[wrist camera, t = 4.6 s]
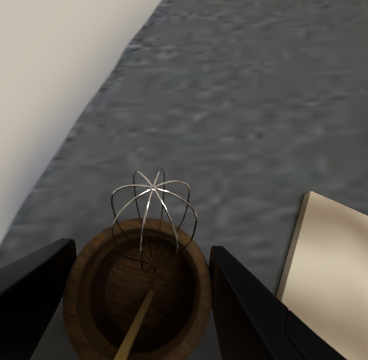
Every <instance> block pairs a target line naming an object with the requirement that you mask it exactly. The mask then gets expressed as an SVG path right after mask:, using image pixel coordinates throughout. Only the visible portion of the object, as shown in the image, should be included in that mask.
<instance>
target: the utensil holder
mask: <svg viewBox="0 0 368 360" xmlns="http://www.w3.org/2000/svg"><path fill="white" fill-rule="evenodd" d="M162 170H163V175H164V180H163V183H161V184H158V185H156V182H157V179H158V177H159V175H160V173H161V171H162ZM136 173H139V174H141V175H142V176H143V177H144V178H145V179H146V180H147V182H148V183H149V184H150V186H146V185H135V174H136ZM171 182H182V183H184V184H186V185H187V187H188V190H189V192H188V200H187V201H186V200H184V199H183V198H181V197H180V196H178V195H176V194H174V193H172V192H169V191H167V190H165V184H167V183H171ZM155 185H156V186H155ZM161 185H163V189H160V188H157V187H159V186H161ZM126 187H134V194H135V198H133V199H132V200H131V201H130V202H129V203H127V204H126V205H125V206H124V207H123V208H122V210H121V211H120V212H119V213H118V215H117V216H116V215H115V211H114V207H113V200H112V199H113V195H114V194H115V193H116V192H117V191H118V190H120V189H122V188H126ZM135 187H146V188H150V189H148V190H146V191H144V192H142V193H141V194H139V195H138V196H136V190H135ZM150 190H151V193H150V196H149V200H148V203H147V207H146V211H145V215H144V218H141V217H140V213H139V209H138V204H137V198H138V197H140V196H141V195H143V194H145V193H146V192H148V191H150ZM156 190H160V191H163V200H162V199H161V197H160V195H159V194H158V192H157V191H156ZM153 191H155V193H156V194H157V196H158V198H159V199H160V201H161V203H162V212H161V220H159V219H154V218H146V216H147V212H148V208H149V204H150V201H151V197H152V194H153ZM165 192H166V193H169V194H171V195H174V196H176V197H177V198H179V199H181V200H182V201H184V202H185V203H186V204H187V206H186V211H185V214H184V217H183V219H182V222H183V220H184V218H185V216H186V213H187V209H188V206H189V207H190V208H191V209H192V210H193V212H194V214H195V218H196V220H195V226H194V231H193V235H192V237H190V236H189V235H188V234H187V233H185V232H184V231H183V230H181V229H180V226H181V224H182V222H181V223H180V225H179V227H177V226H175V225H174V224H173V222H172V219H171V217H170V214H169V212H168V210H167V208H166V206H165V204H164V193H165ZM189 198H190V187H189V185H188V184H187V183H186V182H184V181H182V180H171V181H167V182H165V171H164V169H161V170H160V171H159V172H158V174H157V176H156V179H155V182H154V184H153V185H152V184H151V182H150V181H149V180H148V178H147V177H146V176H145V175H144V174H143V173H141V172H140V171H135V172H134V174H133V185H126V186H122V187H120V188H118V189H116V190H115V191H114V192H113V193H112V195H111V206H112V210H113V214H114V217H115V220H114V222H113V224H112V226H110V227H108V228H106V229H105V230H103V231H102V232H100V233H99V234H98V235H96V236H95V237H94V238H93V239H92V240H91V241H90V242H89V243H88V244H87V245H86V246H85V247H84V249H83V250H82V251H81V252H80V254H79V255H78V257H77V258H76V260H75V262H74V264H73V266H72V268H71V270H70V273H69V275H68V278H67V281H66V285H65V289H64V295H63V320H64V326H65V330H66V333H67V337H68V339H69V341H70V344H71V346H72V348H73V349H74V351H75V353H76V354H77V356H78V357H79V358H80V359H81V360H185V359H186V358H187V357H188V356H189V355H190V354H191V353H192V351H193V350H194V349H195V347H196V346H197V344H198V343H199V341H200V339H201V338H202V336H203V334H204V331H205V329H206V327H207V324H208V321H209V317H210V313H211V308H212V282H211V274H210V270H209V267H208V264H207V261H206V259H205V257H204V255H203V253H202V251H201V250H200V248H199V247H198V245H197V244H196V243H195V242H194V240H193V236H194V233H195V229H196V225H197V214H196V212H195V210H194V209H193V207H192V206H191V205H190V204H189ZM134 200H135V201H136V206H137V211H138V215H139V218H134V219H129V220H125V221H122V222H119V223H118V221H117V219H118V217H119V215H120V214H121V213H122V212H123V210H124V209H125V208H126V207H127V206H128V205H129V204H131V203H132V202H133V201H134ZM163 207H164V209H165V211H166V213H167V215H168V217H169V220H170V222H171V223H169V222H166V221H163V220H162V214H163ZM115 222H116V224H115Z"/></svg>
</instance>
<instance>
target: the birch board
mask: <svg viewBox="0 0 368 360" xmlns="http://www.w3.org/2000/svg"><path fill="white" fill-rule="evenodd" d="M276 297H277V298H278V299H279V300H280V301H281V302H282V303H283V304H285V305H286V306H287V307H288V308H289V310H291V311H292V312H293V313H294V314H295V315H296V316H297V317H298V318H300V319H301V320H302V321H303V322H304V323H305V324H306V325H307V326H308V327H309V328H311V329H312V330H313V331H314V332H315V333H316V334H317V335H318V336H320V337H321V338H322V339H323V340H324V341H325V342H327V343H328V344H329V345H330V346H331V347H333V348H334V349H335V350H336V351H337V352H339V353H340V354H341V355H342V356H344V357H345V358H346V359H347V360H368V216H366V215H364V214H362V213H360V212H357V211H355V210H353V209H351V208H348V207H346V206H344V205H342V204H339V203H337V202H335V201H333V200H330V199H328V198H326V197H324V196H321V195H319V194H317V193H315V192H312V191H310V192H308V193H307V194H305V195H304V198H303V202H302V205H301V209H300V213H299V216H298V220H297V224H296V227H295V231H294V234H293V238H292V242H291V245H290V249H289V252H288V256H287V260H286V263H285V267H284V270H283V274H282V278H281V281H280V285H279V288H278V292H277V296H276Z"/></svg>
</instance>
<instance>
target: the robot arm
mask: <svg viewBox="0 0 368 360" xmlns="http://www.w3.org/2000/svg"><path fill="white" fill-rule="evenodd" d="M76 258H77V256H76V246H75V241H74V240H73V239H67V238H62V239H60V240H58V241H56V242H54V243H52V244H50V245H48V246H46V247H44V248H42V249H40V250H38V251H36V252H34V253H32V254H29V255H27V256H25V257H23V258H21V259H19V260H17V261H15V262H13V263H11V264H9V265H7V266H5V267H3V268H1V269H0V360H30V358H31V356H32V354H33V352H34V350H35V348H36V347H37V345H38V343H39V341H40V339H41V337H42V335H43V334H44V332H45V330H46V328H47V326H48V324H49V322H50V320H51V319H52V317H53V315H54V313H55V311H56V309H57V307H58V305H59V303H60V301H61V299H62V296H63V294H64V289H65V285H66V281H67V278H68V275H69V273H70V270H71V268H72V266H73V264H74V262H75V260H76ZM209 270H210V274H211V282H212V310H213V316H214V321H215V326H216V331H217V336H218V341H219V346H220V351H221V356H222V360H347V359H346V358H345V357H344V356H342V355H341V354H340V353H339V352H337V351H336V350H335V349H334V348H333V347H331V346H330V345H329V344H328V343H327V342H325V341H324V340H323V339H322V338H321V337H320V336H318V335H317V334H316V333H315V332H314V331H313V330H312V329H311V328H309V327H308V326H307V325H306V324H305V323H304V322H303V321H302V320H301V319H300V318H298V317H297V316H296V315H295V314H294V313H293V312H292V311H291V310H289V308H288V307H287V306H286V305H285V304H283V303H282V302H281V301H280V300H279V299H278V298H277V297H276V296H275V295H274V294H273V293H272V292H271V291H270V290H269V289H268V288H267V287H265V286H264V285H263V284H262V283H261V282H260V281H259V280H258V279H257V278H256V277H255V276H254V275H253V274H252V273H251V272H250V271H248V270H247V269H246V268H245V267H244V266H243V265H242V264H241V263H240V262H239V261H238V260H237V259H236V258H235V257H234V256H233V255H232V254H230V253H229V252H228V251H227V250H226V249H225V248H224V247H223V246H212V247H211V253H210V260H209Z"/></svg>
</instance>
